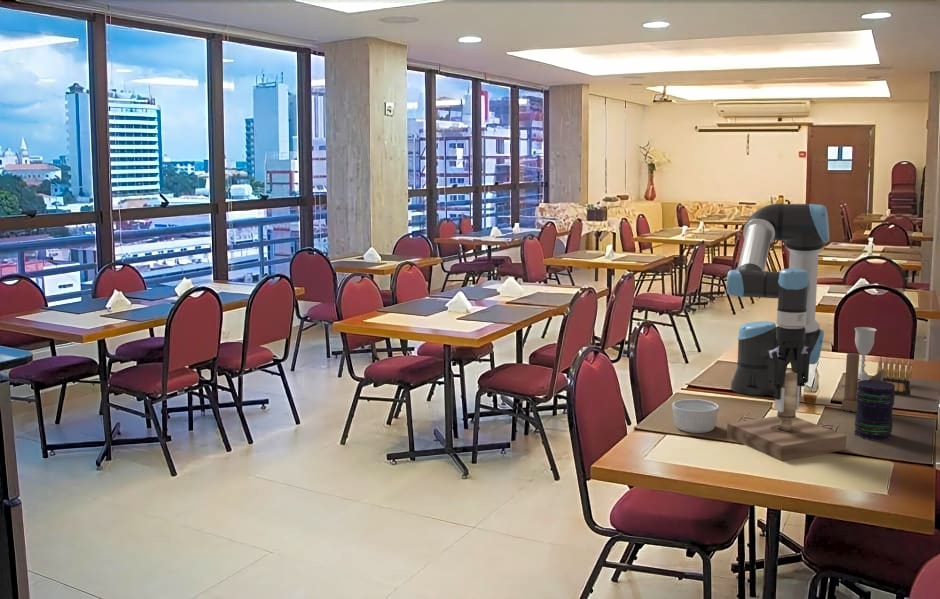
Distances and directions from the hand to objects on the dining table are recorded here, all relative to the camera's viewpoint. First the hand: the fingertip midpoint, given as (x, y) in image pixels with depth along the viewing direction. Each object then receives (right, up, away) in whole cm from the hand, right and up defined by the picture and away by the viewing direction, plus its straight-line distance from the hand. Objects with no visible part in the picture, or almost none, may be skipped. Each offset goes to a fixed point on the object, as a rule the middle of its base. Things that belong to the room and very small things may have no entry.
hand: (786, 409), depth 248 cm
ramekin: (-21, -8, +16) cm, 28 cm away
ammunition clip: (+54, -1, +53) cm, 76 cm away
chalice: (+52, +2, +73) cm, 90 cm away
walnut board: (0, -10, +2) cm, 10 cm away
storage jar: (+27, -9, +8) cm, 30 cm away
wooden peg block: (+34, -5, +31) cm, 47 cm away
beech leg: (0, -6, +1) cm, 6 cm away
